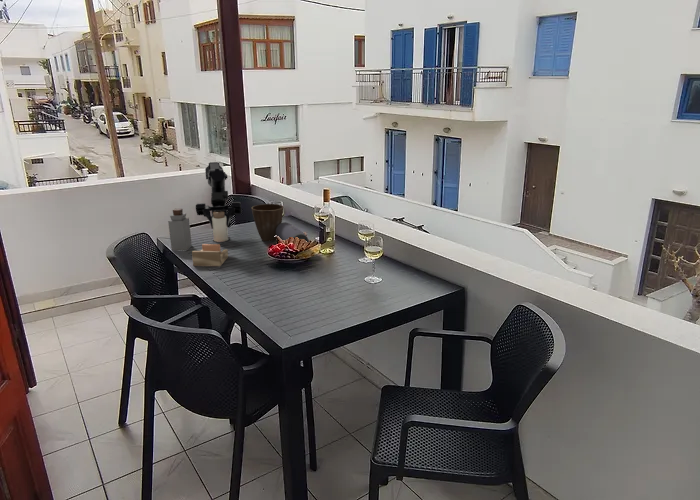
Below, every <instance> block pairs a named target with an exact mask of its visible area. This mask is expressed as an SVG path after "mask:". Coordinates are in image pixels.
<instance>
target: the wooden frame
mask: <svg viewBox="0 0 700 500" xmlns="http://www.w3.org/2000/svg"><path fill="white" fill-rule="evenodd" d="M191 254H192V255H191V257H192V265H193V267H222V265H223V264H224V263H225V262H226V261H227V259H228V258H229V250H228V249H227V248H225V249H223V250H221V253H220V251H203V249H202V248H201V250H192V251H191Z"/></svg>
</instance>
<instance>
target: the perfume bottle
mask: <svg viewBox="0 0 700 500" xmlns="http://www.w3.org/2000/svg"><path fill="white" fill-rule="evenodd" d="M183 209H184V208H174V209H172V214H170V215H169V218H170V219H169V220H168V221H167V222H168V230H169V239H170V248H171V251H178V250H180V251H181V250H182V251H183V250H184V251H188V250H189V249H191V248H192V247H193V246H192V245H193V243H192V242H193V241H192V236H191V225H190V224H191V223H190V217H187V212H183Z"/></svg>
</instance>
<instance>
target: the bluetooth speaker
mask: <svg viewBox="0 0 700 500" xmlns="http://www.w3.org/2000/svg"><path fill="white" fill-rule="evenodd" d="M276 235H277V236H279V237H280V238H281V239H282V240H286V239H288V238H289V237H293V238H295V237H298V238H299V239H305V240H306V241H307V242H309V243H310V240H309V238H308V236H307V235H306V234H305V233H304V232H303V231H302V230H301V229H299V228H298V227H297V226H295V225H292V224H291V223H289V222H286V221H285V222H284V221H282V223H280V224H279V225H278V226H277V228H276Z"/></svg>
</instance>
